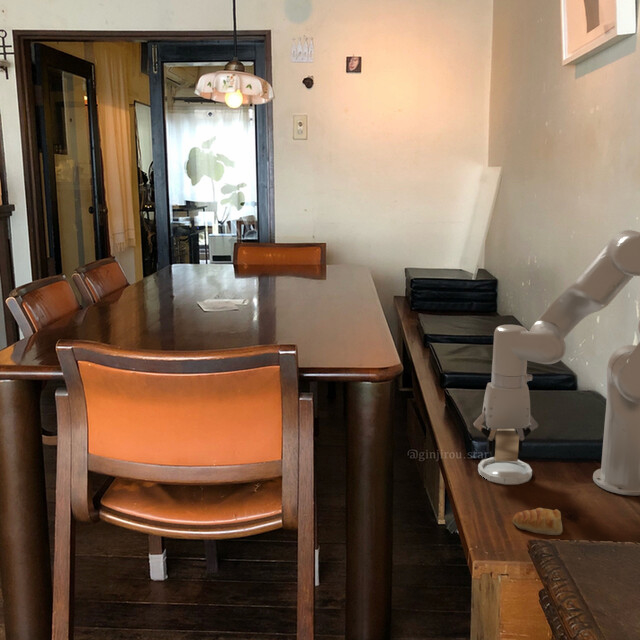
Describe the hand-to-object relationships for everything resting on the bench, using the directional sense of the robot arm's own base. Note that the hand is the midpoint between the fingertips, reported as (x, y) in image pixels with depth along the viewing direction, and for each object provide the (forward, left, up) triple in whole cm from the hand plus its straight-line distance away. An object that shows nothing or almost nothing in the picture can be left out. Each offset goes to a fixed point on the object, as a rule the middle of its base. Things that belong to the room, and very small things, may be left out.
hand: (503, 453), depth 160 cm
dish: (0, 0, -5) cm, 5 cm away
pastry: (-1, +25, -5) cm, 25 cm away
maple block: (0, 0, -1) cm, 1 cm away
